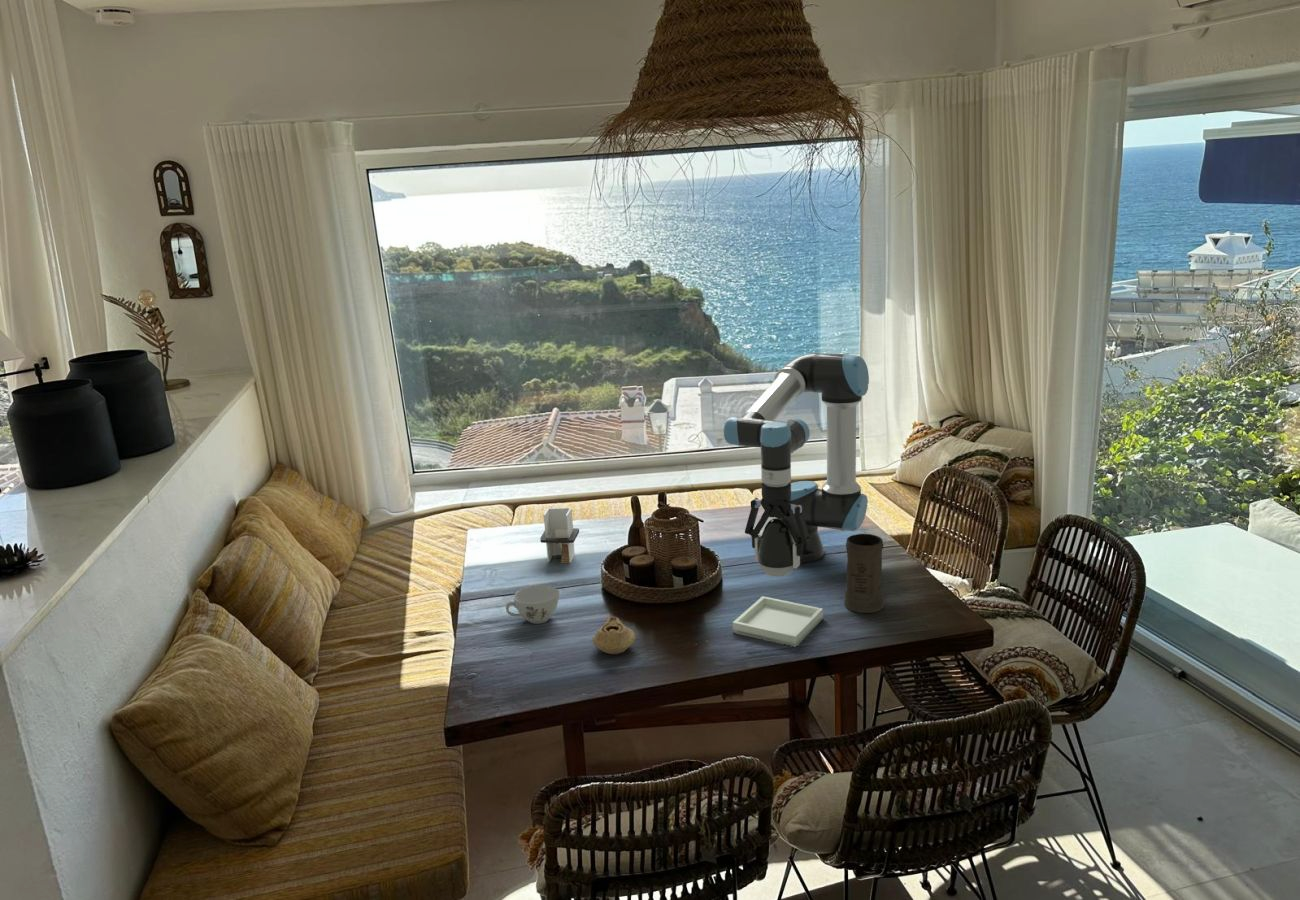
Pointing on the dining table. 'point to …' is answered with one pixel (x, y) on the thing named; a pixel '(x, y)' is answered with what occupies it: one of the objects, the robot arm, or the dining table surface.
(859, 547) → the beer stein
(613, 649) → the oil lamp
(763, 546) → the dark grey rounded piece
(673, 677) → the dining table surface
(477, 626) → the dining table surface
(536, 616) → the teacup
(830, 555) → the dining table surface
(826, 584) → the dining table surface
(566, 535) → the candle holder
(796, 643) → the tray
